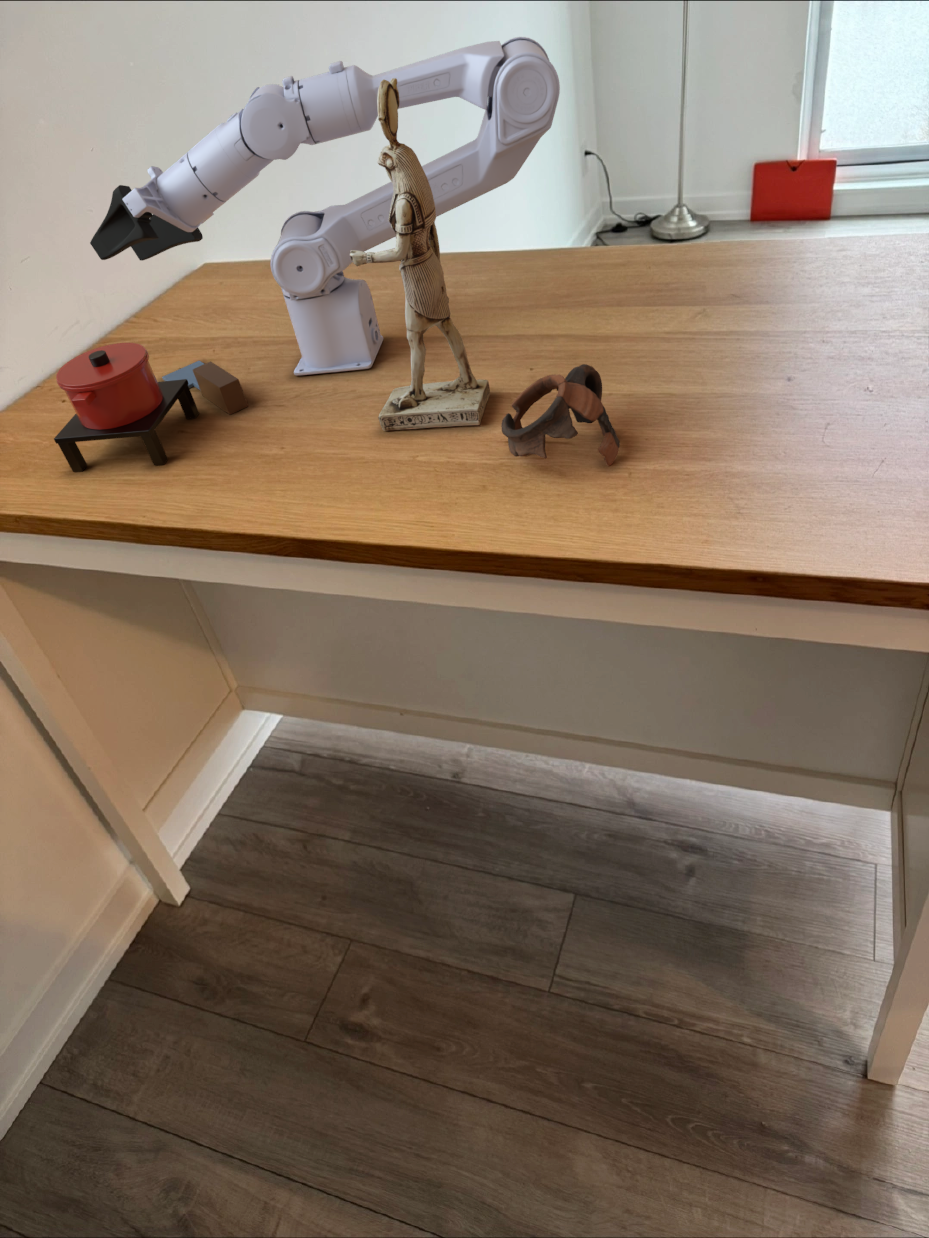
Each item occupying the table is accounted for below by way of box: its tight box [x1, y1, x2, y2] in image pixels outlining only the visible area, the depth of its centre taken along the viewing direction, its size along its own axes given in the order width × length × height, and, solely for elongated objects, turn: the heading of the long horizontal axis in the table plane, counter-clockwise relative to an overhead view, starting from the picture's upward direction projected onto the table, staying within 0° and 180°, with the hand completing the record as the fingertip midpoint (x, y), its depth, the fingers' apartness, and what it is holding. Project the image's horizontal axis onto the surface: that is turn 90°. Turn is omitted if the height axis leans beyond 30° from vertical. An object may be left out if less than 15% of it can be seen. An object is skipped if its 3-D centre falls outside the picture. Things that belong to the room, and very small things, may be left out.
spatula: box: [161, 360, 249, 416], centre depth 103 cm, size 16×5×3 cm, turn 38°
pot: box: [53, 342, 200, 473], centre depth 93 cm, size 11×12×10 cm
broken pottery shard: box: [500, 363, 621, 467], centre depth 80 cm, size 12×10×8 cm
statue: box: [350, 78, 491, 432], centre depth 81 cm, size 7×10×30 cm
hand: (117, 252), depth 96 cm, fingers open, 7 cm apart
